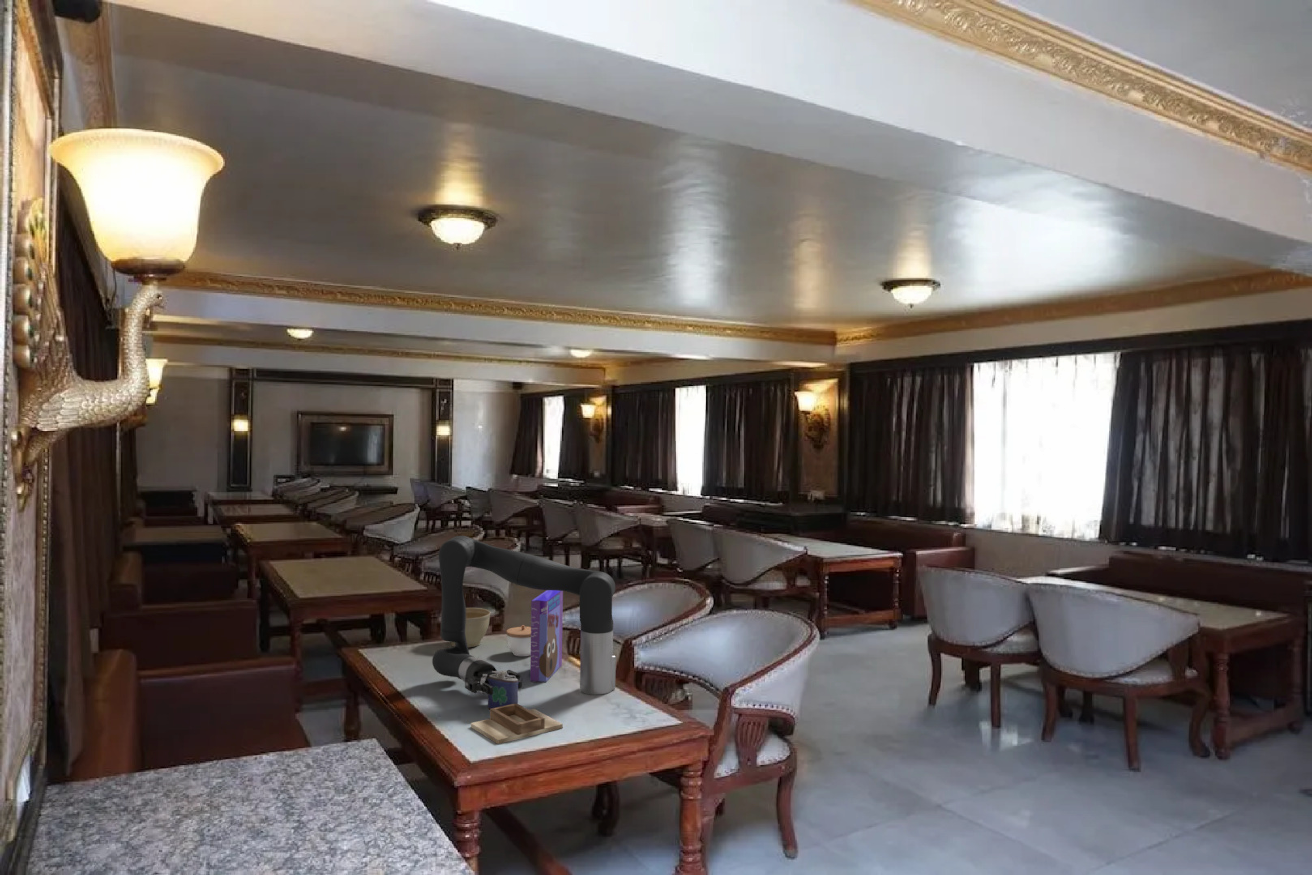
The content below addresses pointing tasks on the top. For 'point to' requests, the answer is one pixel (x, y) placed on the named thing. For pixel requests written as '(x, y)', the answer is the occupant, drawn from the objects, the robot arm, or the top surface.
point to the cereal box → (546, 635)
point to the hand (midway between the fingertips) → (506, 688)
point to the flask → (502, 690)
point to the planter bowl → (475, 625)
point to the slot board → (514, 723)
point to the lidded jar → (519, 640)
